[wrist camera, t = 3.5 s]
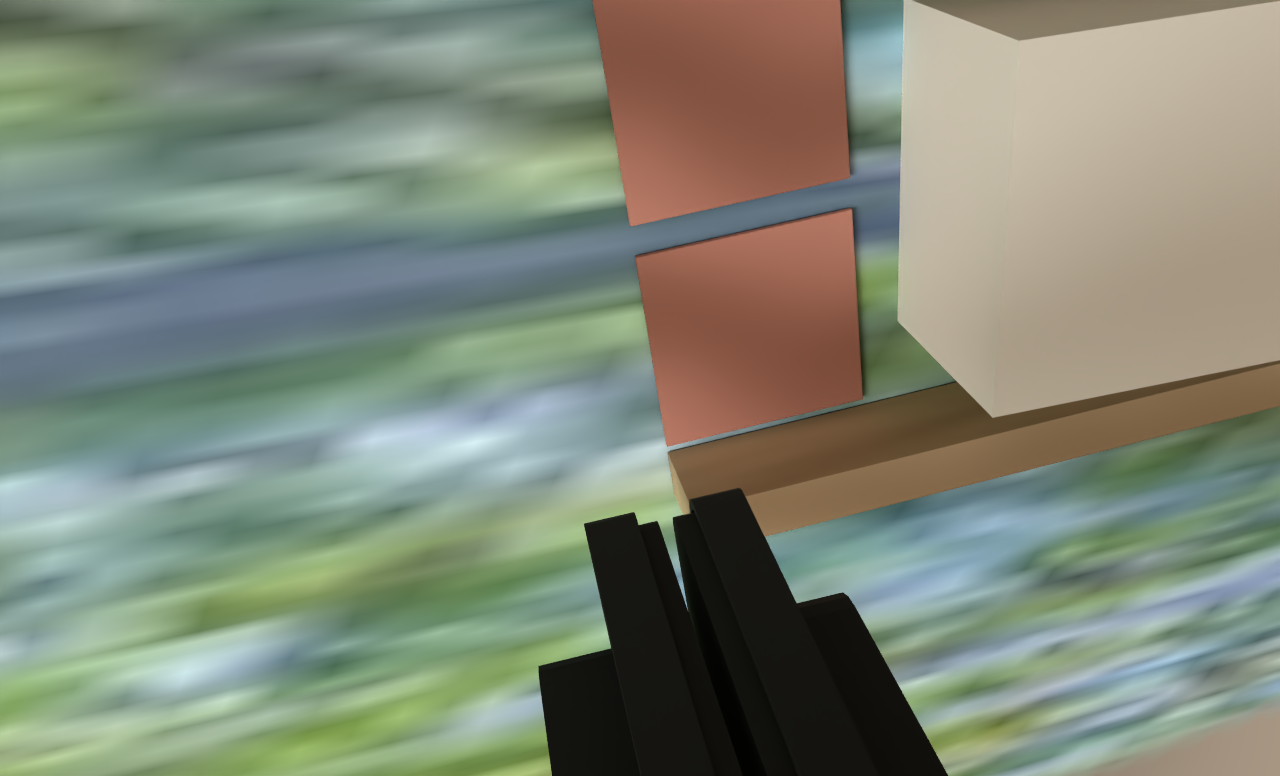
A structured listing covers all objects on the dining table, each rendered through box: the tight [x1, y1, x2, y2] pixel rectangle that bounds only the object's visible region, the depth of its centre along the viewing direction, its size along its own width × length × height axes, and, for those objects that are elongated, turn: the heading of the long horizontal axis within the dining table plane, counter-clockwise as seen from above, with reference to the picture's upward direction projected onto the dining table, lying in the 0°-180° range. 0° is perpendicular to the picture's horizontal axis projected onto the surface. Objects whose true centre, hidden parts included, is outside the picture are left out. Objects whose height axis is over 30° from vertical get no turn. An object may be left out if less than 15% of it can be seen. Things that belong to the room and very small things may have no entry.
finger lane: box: [592, 0, 1280, 536], centre depth 19 cm, size 11×23×2 cm, turn 99°
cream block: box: [898, 0, 1280, 418], centre depth 18 cm, size 6×6×4 cm
